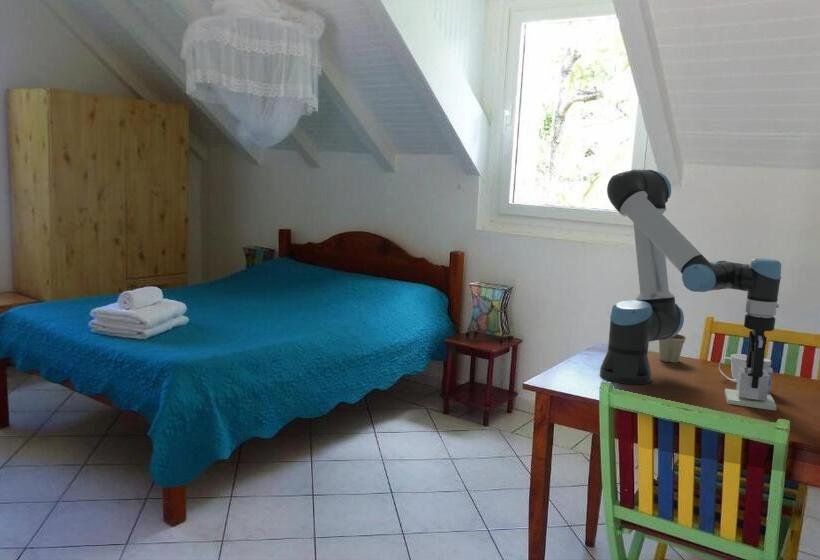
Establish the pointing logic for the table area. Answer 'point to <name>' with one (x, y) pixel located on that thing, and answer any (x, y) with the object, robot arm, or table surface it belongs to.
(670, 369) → the table surface
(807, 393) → the table surface
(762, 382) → the hollow grey square tube
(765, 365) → the pill bottle
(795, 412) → the table surface
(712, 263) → the robot arm
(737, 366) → the cup
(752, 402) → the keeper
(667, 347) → the flower pot
